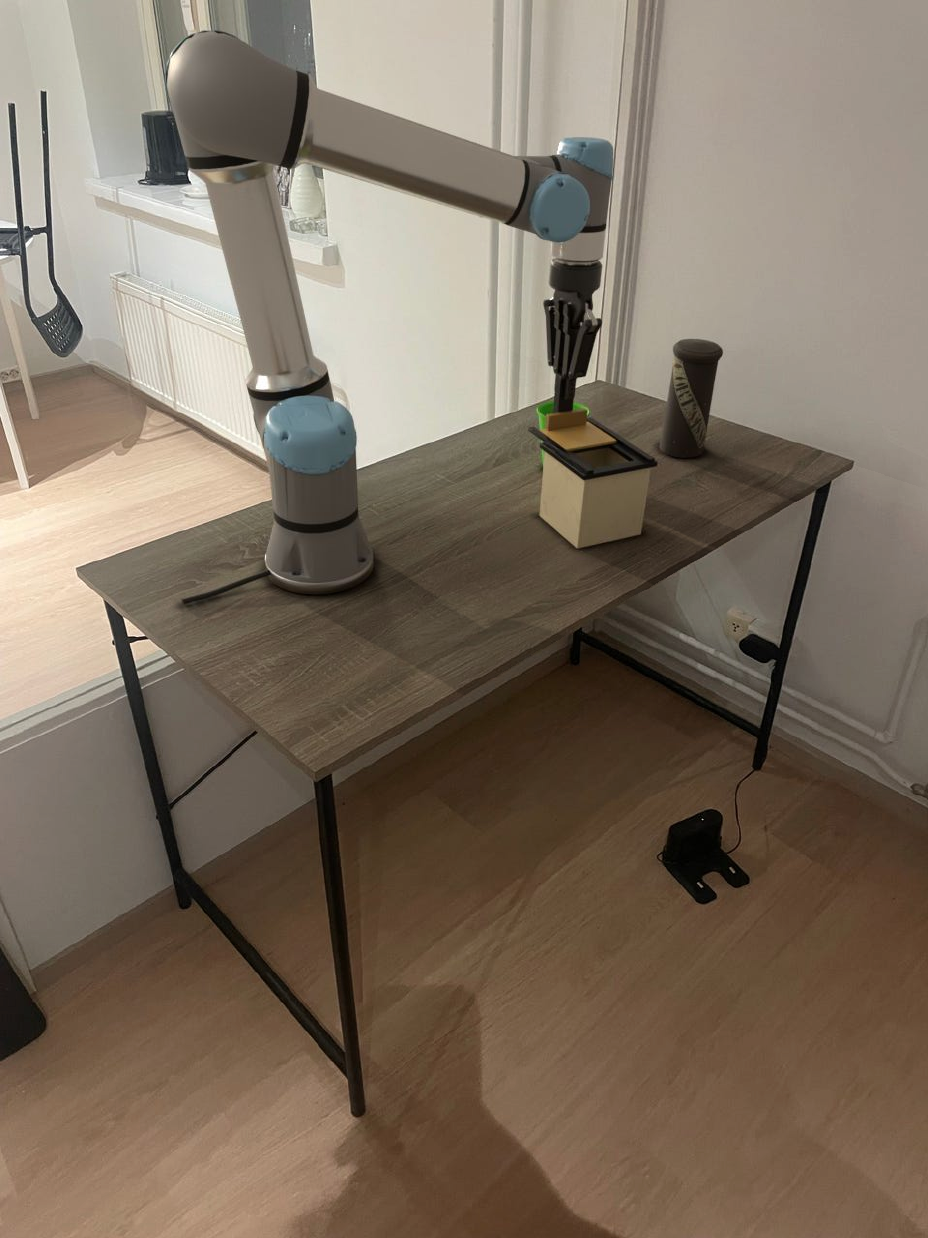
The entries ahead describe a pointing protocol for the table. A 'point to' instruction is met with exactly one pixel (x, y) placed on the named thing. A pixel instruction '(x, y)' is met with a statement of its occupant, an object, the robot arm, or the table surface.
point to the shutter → (574, 430)
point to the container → (689, 397)
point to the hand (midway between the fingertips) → (562, 415)
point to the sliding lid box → (594, 489)
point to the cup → (548, 409)
